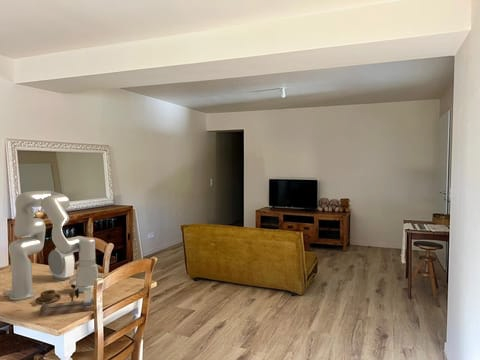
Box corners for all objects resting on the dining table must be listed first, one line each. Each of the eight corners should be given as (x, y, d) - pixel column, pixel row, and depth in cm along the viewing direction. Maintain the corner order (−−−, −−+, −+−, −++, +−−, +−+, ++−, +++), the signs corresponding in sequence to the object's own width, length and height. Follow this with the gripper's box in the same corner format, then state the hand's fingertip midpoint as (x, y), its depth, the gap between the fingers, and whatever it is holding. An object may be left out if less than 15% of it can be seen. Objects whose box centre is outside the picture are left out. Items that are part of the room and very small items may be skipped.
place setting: (60, 293, 197) (60, 283, 197) (77, 302, 185) (77, 291, 184) (26, 303, 184) (26, 292, 183) (41, 313, 171) (41, 301, 171)
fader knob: (82, 305, 173) (82, 291, 173) (84, 300, 180) (84, 286, 180) (91, 304, 175) (91, 290, 174) (92, 299, 181) (92, 285, 181)
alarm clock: (76, 278, 222) (75, 247, 221) (63, 282, 215) (63, 250, 214) (59, 274, 231) (59, 244, 231) (47, 277, 224) (46, 246, 223)
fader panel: (39, 316, 166) (39, 309, 166) (44, 308, 176) (43, 301, 175) (97, 309, 174) (97, 302, 174) (99, 302, 184) (99, 295, 183)
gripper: (67, 266, 170) (67, 300, 171) (105, 263, 175) (105, 296, 176) (69, 262, 177) (70, 295, 178) (106, 259, 183) (106, 291, 183)
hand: (87, 295), depth 177 cm, fingers open, 9 cm apart
